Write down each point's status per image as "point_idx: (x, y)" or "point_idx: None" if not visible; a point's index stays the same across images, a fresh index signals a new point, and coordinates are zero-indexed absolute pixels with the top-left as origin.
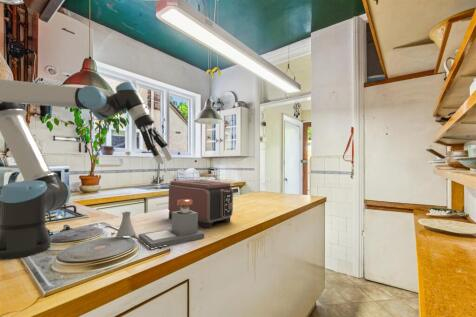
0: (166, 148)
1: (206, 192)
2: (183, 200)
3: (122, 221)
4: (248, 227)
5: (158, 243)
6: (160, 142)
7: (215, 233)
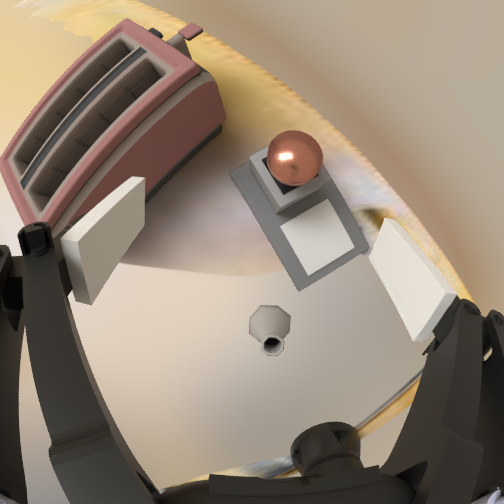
0: (94, 233)
1: (211, 81)
2: (304, 161)
3: (277, 344)
4: (225, 47)
5: (362, 233)
6: (74, 330)
7: (267, 111)
